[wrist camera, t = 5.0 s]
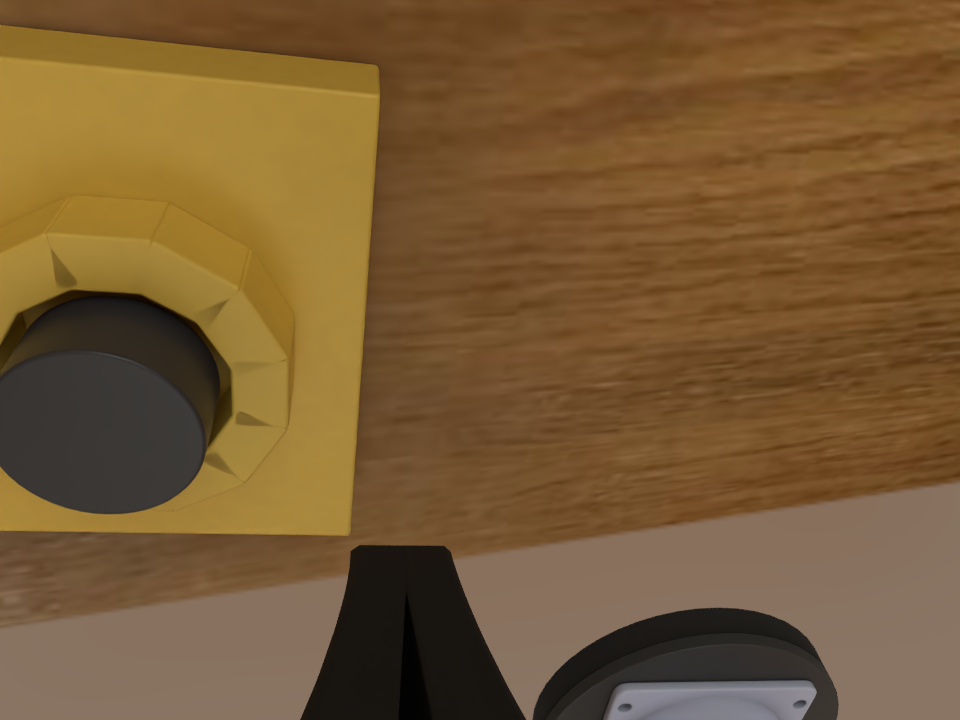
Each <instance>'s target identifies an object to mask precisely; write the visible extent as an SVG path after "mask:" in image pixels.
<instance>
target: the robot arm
mask: <svg viewBox="0 0 960 720" xmlns="http://www.w3.org/2000/svg"><path fill="white" fill-rule="evenodd" d="M816 693H817V692H816V689H815V687H814V685H813V683H812V682H810V681H808V680H768V681H702V682H635V683H623V684H620V685H618V686H617V687H615V689H614V690H613V692H612V695H611V697H610V700H609V703H608V706H607V709H606V711H605V714H604V717H603V720H802V719H803V717H804V715H805V713H806V712H807V710H808V708H809V706H810V705H811V703H812V701H813V699H814V698H815V696H816ZM300 720H526V719H525V717H524V715H523V713H522V712H521V710H520V708H519V706H518V704H517V703H516V701H515V699H514V697H513V695H512V693H511V692H510V690H509V688H508V686H507V684H506V682H505V680H504V679H503V676H502V674H501V672H500V670H499V668H498V666H497V664H496V662H495V660H494V658H493V656H492V654H491V652H490V650H489V648H488V646H487V644H486V642H485V640H484V638H483V636H482V633H481V631H480V629H479V627H478V625H477V622H476V620H475V618H474V615H473V613H472V610H471V608H470V606H469V604H468V601H467V598H466V596H465V593H464V591H463V588H462V585H461V583H460V580H459V577H458V574H457V571H456V568H455V565H454V562H453V559H452V555H451V552H450V551H449V550H448V549H447V548H446V547H445V546H384V545H359V546H358V547H356V548H355V549H353V550H352V551H351V557H350V569H349V575H348V580H347V586H346V591H345V595H344V599H343V603H342V607H341V610H340V613H339V617H338V620H337V624H336V627H335V631H334V634H333V636H332V639H331V642H330V645H329V648H328V651H327V653H326V657H325V659H324V662H323V665H322V668H321V671H320V674H319V676H318V679H317V681H316V684H315V686H314V689H313V691H312V693H311V696H310V698H309V700H308V703H307V705H306V708H305V710H304V712H303V715H302V717H301V719H300Z"/></svg>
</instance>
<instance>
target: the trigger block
mask: <svg viewBox="0 0 960 720" xmlns="http://www.w3.org/2000/svg"><path fill="white" fill-rule="evenodd" d="M379 113H380V77H379V68H378V66H376V65H372V64H362V63H353V62H344V61H334V60H325V59H315V58H306V57H297V56H287V55H278V54H268V53H259V52H250V51H240V50H231V49H221V48H212V47H202V46H193V45H184V44H174V43H165V42H155V41H146V40H137V39H127V38H118V37H108V36H99V35H90V34H80V33H71V32H61V31H52V30H43V29H33V28H24V27H14V26H5V25H0V372H1V370H2V369H3V367H4V366H5V364H6V362H7V361H8V359H9V357H10V356H11V354H12V353H13V351H14V349H15V348H16V346H17V345H18V343H19V341H20V340H21V338H22V337H23V335H24V333H25V332H26V331H27V329H28V328H29V326H30V325H31V324H32V323H33V322H34V321H35V320H36V319H37V318H38V317H39V316H41V315H42V314H43V313H45V312H46V311H47V310H49V309H51V308H53V307H55V306H57V305H59V304H62V303H64V302H67V301H70V300H74V299H78V298H82V297H89V296H119V297H127V298H132V299H136V300H140V301H143V302H146V303H149V304H153V305H155V306H157V307H159V308H162V309H164V310H166V311H168V312H169V313H171V314H173V315H174V316H176V317H178V318H179V319H180V320H182V321H183V322H185V323H186V324H187V325H188V326H189V327H191V328H192V329H193V330H194V331H195V332H196V333H197V334H198V335H199V337H200V338H201V339H202V340H203V341H204V342H205V344H206V346H207V347H208V349H209V350H210V352H211V354H212V356H213V358H214V360H215V362H216V365H217V368H218V372H219V377H220V396H219V400H218V405H217V409H216V413H215V417H214V421H213V426H212V430H211V434H210V438H209V442H208V447H207V451H206V455H205V459H204V462H203V464H202V467H201V469H200V471H199V473H198V474H197V476H196V477H195V479H194V480H193V481H192V482H191V483H190V485H189V486H188V487H187V488H186V489H184V490H183V491H182V492H181V493H180V494H178V495H177V496H175V497H174V498H172V499H171V500H169V501H167V502H165V503H163V504H161V505H159V506H156V507H153V508H150V509H147V510H143V511H139V512H134V513H126V514H93V513H87V512H80V511H76V510H72V509H68V508H65V507H62V506H59V505H56V504H53V503H51V502H48V501H46V500H44V499H42V498H40V497H38V496H36V495H34V494H32V493H31V492H29V491H27V490H26V489H25V488H23V487H22V486H20V485H19V484H18V483H16V482H15V481H14V480H13V479H12V478H11V477H9V476H8V475H7V474H6V473H5V471H4V470H3V469H2V468H1V467H0V531H53V532H123V533H192V534H262V535H332V536H347V535H349V534H350V531H351V517H352V503H353V488H354V474H355V459H356V445H357V430H358V416H359V401H360V387H361V373H362V358H363V344H364V329H365V315H366V300H367V286H368V272H369V257H370V243H371V228H372V214H373V199H374V185H375V170H376V156H377V142H378V127H379Z"/></svg>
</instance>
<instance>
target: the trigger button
mask: <svg viewBox="0 0 960 720" xmlns="http://www.w3.org/2000/svg"><path fill="white" fill-rule="evenodd" d="M219 396H220V377H219V372H218V368H217V365H216V362H215V360H214V358H213V356H212V354H211V352H210V350H209V349H208V347H207V346H206V344H205V342H204V341H203V340H202V339H201V338H200V337H199V335H198V334H197V333H196V332H195V331H194V330H193V329H192V328H191V327H189V326H188V325H187V324H186V323H185V322H183V321H182V320H180V319H179V318H178V317H176V316H174V315H173V314H171V313H169V312H168V311H166V310H164V309H162V308H159V307H157V306H155V305H153V304H149V303H146V302H143V301H140V300H136V299H132V298H127V297H119V296H89V297H82V298H78V299H74V300H70V301H67V302H64V303H62V304H59V305H57V306H55V307H53V308H51V309H49V310H47V311H46V312H45V313H43V314H42V315H41V316H39V317H38V318H37V319H36V320H35V321H34V322H33V323H32V324H31V325H30V326H29V328H28V329H27V331H26V332H25V333H24V335H23V337H22V338H21V340H20V341H19V343H18V345H17V346H16V348H15V349H14V351H13V353H12V354H11V356H10V357H9V359H8V361H7V362H6V364H5V366H4V367H3V369H2V370H1V372H0V467H1V468H2V469H3V470H4V471H5V473H6V474H7V475H8V476H9V477H11V478H12V479H13V480H14V481H15V482H16V483H18V484H19V485H20V486H22V487H23V488H25V489H26V490H27V491H29V492H31V493H32V494H34V495H36V496H38V497H40V498H42V499H44V500H46V501H48V502H51V503H53V504H56V505H59V506H62V507H65V508H68V509H72V510H76V511H80V512H87V513H93V514H126V513H134V512H139V511H143V510H147V509H150V508H153V507H156V506H159V505H161V504H163V503H165V502H167V501H169V500H171V499H172V498H174V497H175V496H177V495H178V494H180V493H181V492H182V491H183V490H184V489H186V488H187V487H188V486H189V485H190V483H191V482H192V481H193V480H194V479H195V477H196V476H197V474H198V473H199V471H200V469H201V467H202V464H203V462H204V459H205V455H206V451H207V447H208V442H209V438H210V434H211V430H212V426H213V421H214V417H215V413H216V409H217V405H218V400H219Z"/></svg>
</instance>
